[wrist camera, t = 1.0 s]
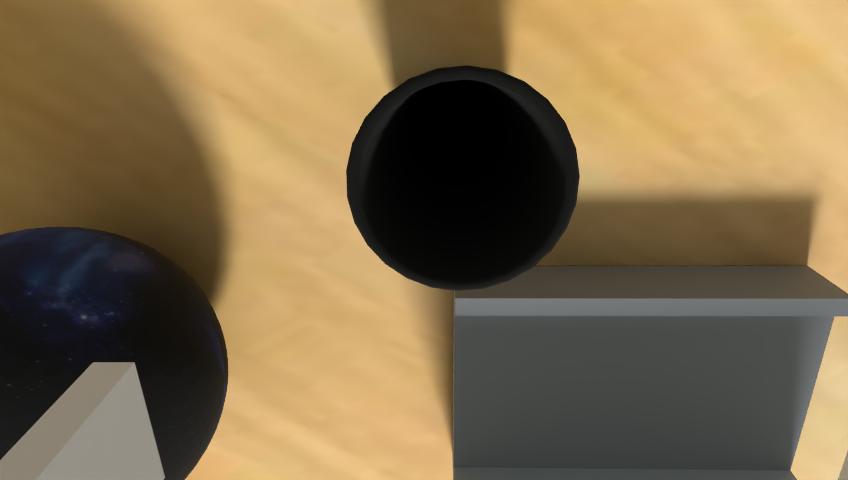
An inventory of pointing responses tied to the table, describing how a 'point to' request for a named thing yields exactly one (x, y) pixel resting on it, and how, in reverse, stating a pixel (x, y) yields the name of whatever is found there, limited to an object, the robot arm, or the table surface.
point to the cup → (462, 178)
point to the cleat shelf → (638, 372)
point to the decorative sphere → (108, 334)
